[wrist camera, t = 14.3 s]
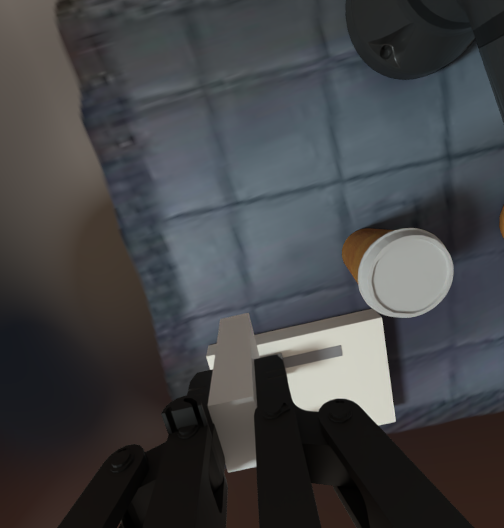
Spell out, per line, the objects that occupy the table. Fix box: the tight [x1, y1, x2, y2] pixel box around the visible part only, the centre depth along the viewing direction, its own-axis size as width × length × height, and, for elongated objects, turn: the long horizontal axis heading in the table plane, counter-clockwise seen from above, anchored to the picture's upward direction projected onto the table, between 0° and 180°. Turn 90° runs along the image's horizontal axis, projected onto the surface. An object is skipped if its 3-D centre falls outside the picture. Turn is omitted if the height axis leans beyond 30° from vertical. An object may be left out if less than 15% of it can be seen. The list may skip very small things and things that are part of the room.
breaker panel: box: [206, 309, 396, 425], centre depth 46 cm, size 24×17×3 cm
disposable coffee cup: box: [342, 228, 453, 318], centre depth 37 cm, size 10×10×12 cm
